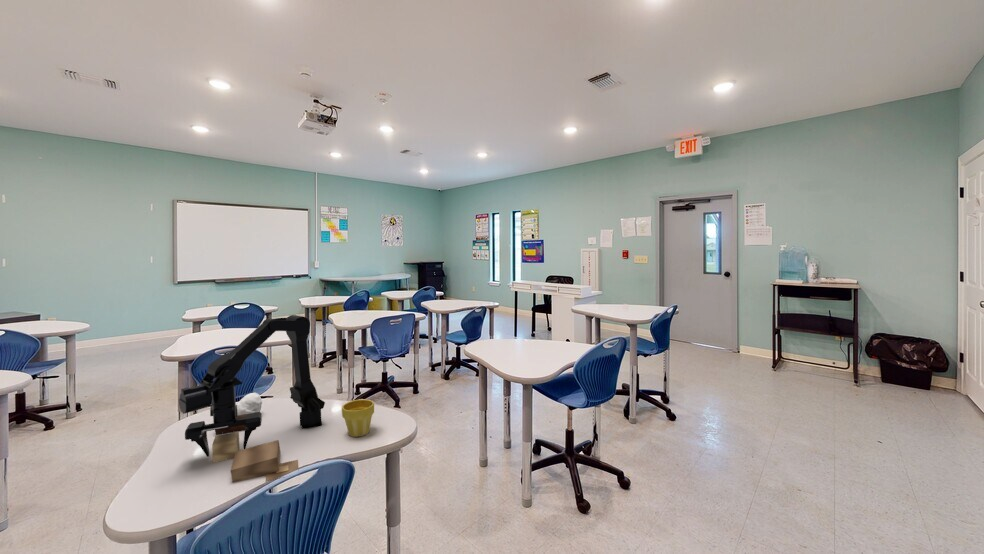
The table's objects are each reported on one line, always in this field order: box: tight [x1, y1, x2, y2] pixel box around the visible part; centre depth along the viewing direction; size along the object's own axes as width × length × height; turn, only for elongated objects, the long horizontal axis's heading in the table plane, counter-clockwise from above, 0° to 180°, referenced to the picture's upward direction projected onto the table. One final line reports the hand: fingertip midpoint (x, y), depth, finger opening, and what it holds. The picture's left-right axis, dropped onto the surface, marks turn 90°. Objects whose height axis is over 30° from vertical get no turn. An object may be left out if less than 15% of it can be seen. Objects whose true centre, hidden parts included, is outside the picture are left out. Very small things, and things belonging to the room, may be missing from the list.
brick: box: [214, 414, 247, 436], centre depth 138 cm, size 11×4×5 cm, turn 117°
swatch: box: [265, 459, 299, 482], centre depth 112 cm, size 8×8×1 cm
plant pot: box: [341, 398, 375, 438], centre depth 136 cm, size 10×10×10 cm
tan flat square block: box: [229, 439, 281, 483], centre depth 114 cm, size 11×11×4 cm
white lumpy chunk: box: [236, 392, 263, 415], centre depth 147 cm, size 6×8×12 cm
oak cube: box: [211, 431, 241, 463], centre depth 120 cm, size 6×6×6 cm
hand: (226, 452), depth 120 cm, fingers open, 9 cm apart
